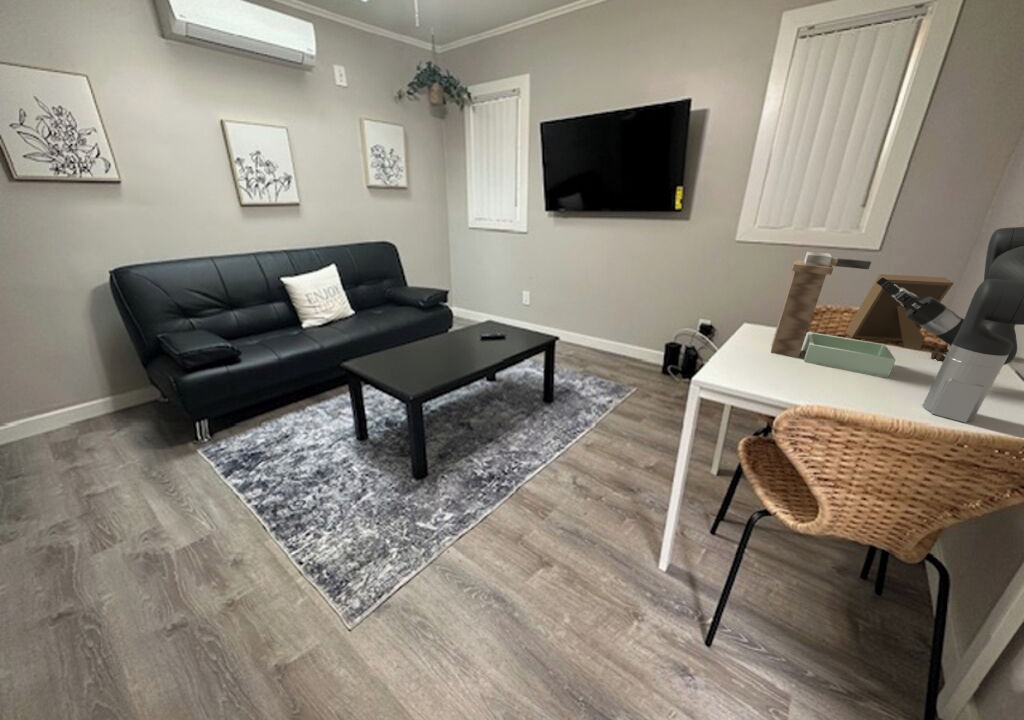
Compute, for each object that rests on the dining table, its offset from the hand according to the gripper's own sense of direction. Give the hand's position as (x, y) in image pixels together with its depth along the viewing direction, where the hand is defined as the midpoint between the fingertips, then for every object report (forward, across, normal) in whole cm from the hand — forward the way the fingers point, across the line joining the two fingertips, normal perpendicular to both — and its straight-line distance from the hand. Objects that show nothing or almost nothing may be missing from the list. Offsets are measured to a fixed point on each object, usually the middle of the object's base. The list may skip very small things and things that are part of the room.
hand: (881, 281), depth 121 cm
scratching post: (+3, -1, -32) cm, 32 cm away
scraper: (+13, -1, -4) cm, 14 cm away
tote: (-11, -1, -24) cm, 27 cm away
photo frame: (-26, +36, -16) cm, 47 cm away
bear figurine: (-40, +26, -8) cm, 49 cm away
